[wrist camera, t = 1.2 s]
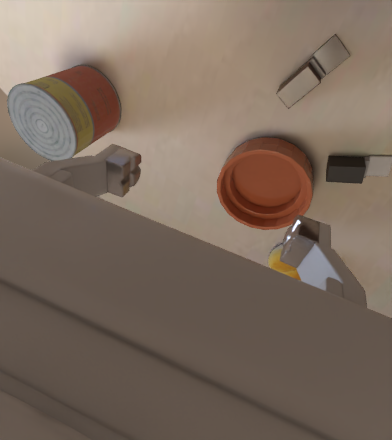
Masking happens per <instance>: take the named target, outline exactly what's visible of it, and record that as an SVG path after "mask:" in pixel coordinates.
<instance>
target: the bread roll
mask: <svg viewBox="0 0 392 440" xmlns="http://www.w3.org/2000/svg"><path fill="white" fill-rule="evenodd" d="M282 249H283V245H280V246H278V247H276V248H275V249H274V250H272V252H271V253H270V256H269V260H268V263H269V266H270V267H271V269H273V270H276V271H278V272H281V273H283V274H285V275H288V276H290V277H293V278H295V279H298V280H300V281H301V278H300V276H299V274H298V272H297V268H294V267H292V266H290V265H288V264H285V263H283V262H281V261H280V255H281V251H282Z"/></svg>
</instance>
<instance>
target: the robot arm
mask: <svg viewBox="0 0 392 440" xmlns="http://www.w3.org/2000/svg"><path fill="white" fill-rule="evenodd" d="M140 163H141V155H140V154H138V153H136V152H133V151H131V150H128V149H126V148H123V147H121V146H118V145H115V144H111V145H110V146H109V147H107V148H106V149H104V150H103V151H101V152H100V153H99V154H97V155H96V156H85V157H77V158H70V159H63V160H56V161H49V162H45V163H43V164H42V165H40V166H38V167H37V168H35V169H33V170H30V169H27V168H25V167H22V166H20V165H17V164H15V163H12V162H10V161H7V160H5V159H3V158H0V440H392V318H390V317H388V316H385V315H383V314H380V313H378V312H375V311H373V310H371V309H368V308H367V303H366V295H365V290H364V289H363V287H362V286H361V285H360V283H359V282H358V281H357V279H356V278H355V277H354V275H353V274H352V273H351V271H350V270H349V269H348V267H347V266H346V265H345V263H344V262H343V261H342V259H341V258H340V257H339V256H338V254H337V253H336V252H335V250H334V249H331V227H330V225H327V224H325V223H322V222H318V221H315V220H313V219H310V218H307V217H304V216H301V215H299V214H297V215H296V217H295V218H294V220H293V225H292V226H290V227H289V228H288V230H287V232H286V234H285V236H284V239H283V243H282V245H283V249H282V251H281V255H280V261H281V262H283V263H285V264H288V265H290V266H292V267H294V268H297V272H298V274H299V276H300V278H301V281H300V280H298V279H295V278H293V277H290V276H288V275H285V274H283V273H281V272H278V271H276V270H273V269H271V268H268V267H266V266H264V265H261V264H259V263H256V262H254V261H251V260H249V259H246V258H244V257H242V256H239V255H237V254H234V253H232V252H229V251H227V250H225V249H222V248H220V247H217V246H215V245H212V244H210V243H207V242H205V241H203V240H200V239H198V238H195V237H193V236H190V235H188V234H186V233H183V232H181V231H178V230H176V229H173V228H171V227H168V226H166V225H164V224H161V223H159V222H156V221H154V220H151V219H149V218H147V217H144V216H142V215H139V214H137V213H134V212H132V211H129V210H127V209H125V208H122V207H120V206H117V205H115V204H112V203H110V202H108V201H105V200H103V199H100V198H98V197H96V196H99V195H102V194H105V193H107V192H109V193H112V194H115V195H117V196H120V197H123V196H124V195H125V194H126V193H127V192H128V191H129V187H132V186H134V185H135V184H136V183H137V181H138V179H139V177H140V171H141V169H140V167H139V166H138V165H139V164H140Z"/></svg>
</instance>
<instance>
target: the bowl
mask: <svg viewBox="0 0 392 440" xmlns="http://www.w3.org/2000/svg"><path fill="white" fill-rule="evenodd" d="M217 194H218V197H219V200H220V203H221V204H222V206H223V207H224V209H225V210H226V211H227V213H228V214H229V215H231V216H232V217H233V218H234V219H236V220H237V221H238V222H240V223H242V224H244V225H247V226H249V227H252V228H257V229H262V230H269V229H280V228H283V227H286V226H289V225H291V224H293V220H294V218H295V217H296V215H297V214H299V215H301V216H303V215H304V213H305V212H306V211H307V210H308V208H309V206H310V202H311V199H312V195H313V171H312V166H311V164H310V163H309V161H308V159H307V157H306V155H305V154H304V153H303V152H302V151H301V150H299V149H298V148H297V147H296V146H295V145H293V144H291V143H288V142H286V141H284V140H281V139H277V138H268V137H265V138H264V137H263V138H258V139H253V140H249V141H247V142H245V143H244V144H242V145H240V146H238V147H237V148H236V149H235V150H234V151H233V152H232V154H231V155H230V156H229V157H228V159H227V161H226V162H225V164H224V166H223V168H222V170H221V172H220V175H219V177H218V179H217Z"/></svg>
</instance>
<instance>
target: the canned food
mask: <svg viewBox="0 0 392 440" xmlns="http://www.w3.org/2000/svg"><path fill="white" fill-rule="evenodd" d="M7 105H8V112H9V115H10V118H11V121H12V123H13V125H14V127H15V129H16V131H17V132H18V134H19V135H20V137H21V138H22V139H23V140H24V142H25V143H26V144H27V145H28V146H29V147H30V148H31V149H32V150H34V151H35V152H36V153H38V154H39V155H41V156H42V157H44V158H46V159H48V160H51V161H56V160H63V159H70V158H72V157H73V156H74V155H76V154H77V153H79V152H80V151H82V150H83V149H85V148H86V147H88V146H89V145H90V144H92V143H93V142H95V141H96V140H98V139H99V138H101V137H102V136H104V135H105V134H107V133H108V132H111V131H112V130H114V129H115V128H116V127H117V125H118V123H119V121H120V117H121V106H120V101H119V98H118V95H117V93H116V91H115V89H114V87H113V86H112V84H111V83H110V81H109V80H108V79H107V78H106V77H105V76H104V75H103V74H102V73H101V72H99V71H98V70H96V69H94V68H92V67H90V66H86V65H78V66H75V67H73V68H71V69H68V70H64V71H61V72H58V73H55V74H52V75H49V76H46V77H43V78H40V79H36V80H33V81H30V82H27V83H22V84H18V85H16V86H14V87H13V88H12V89H11V90H10V92H9V94H8V99H7Z"/></svg>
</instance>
